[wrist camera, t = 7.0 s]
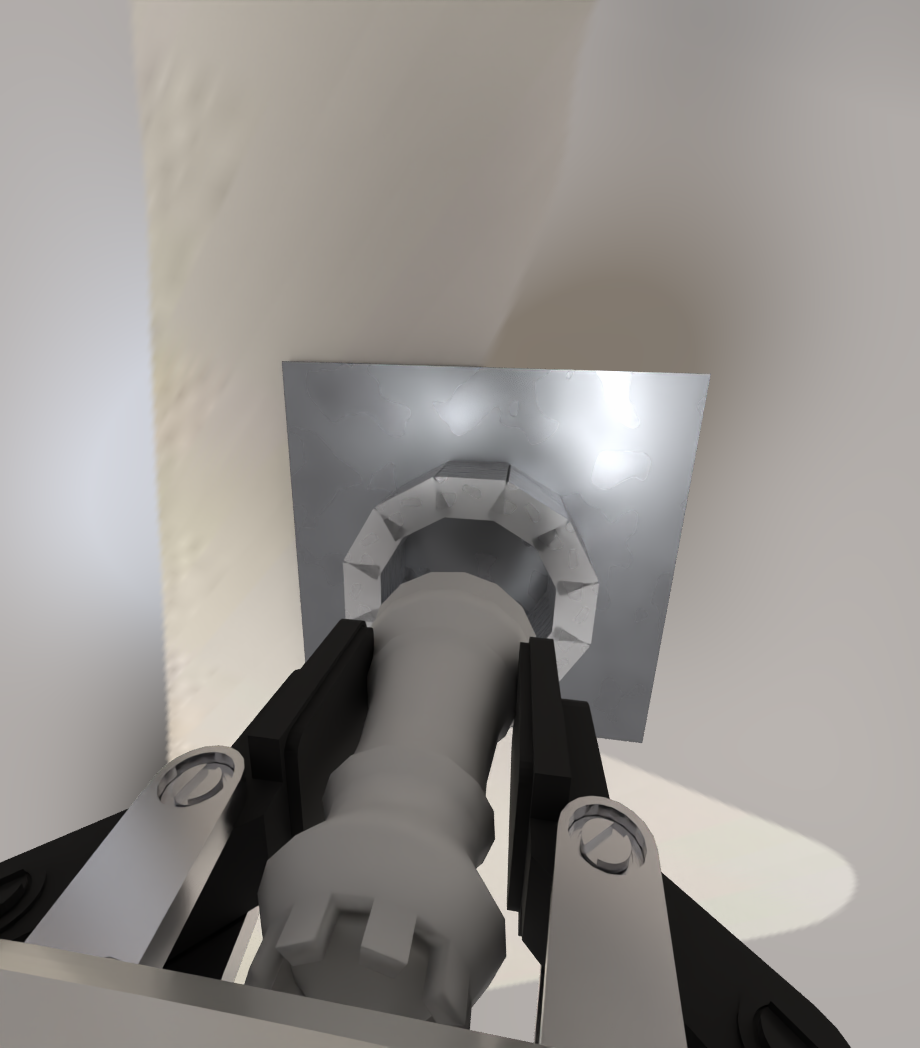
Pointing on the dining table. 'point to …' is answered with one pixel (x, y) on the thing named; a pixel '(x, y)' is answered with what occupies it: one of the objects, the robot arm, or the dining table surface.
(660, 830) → the dining table surface
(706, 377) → the socket
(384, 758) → the rook chess piece
